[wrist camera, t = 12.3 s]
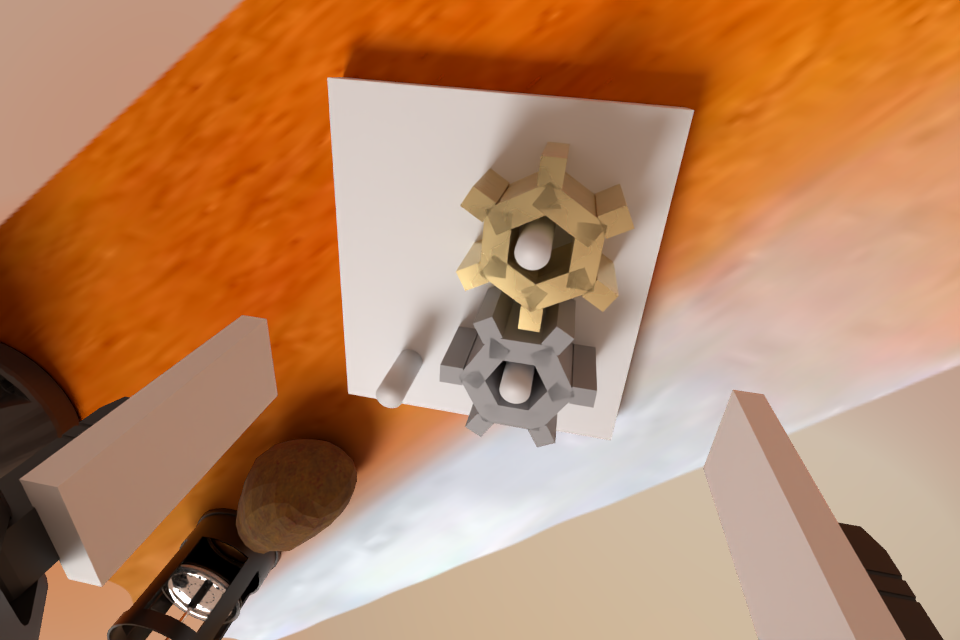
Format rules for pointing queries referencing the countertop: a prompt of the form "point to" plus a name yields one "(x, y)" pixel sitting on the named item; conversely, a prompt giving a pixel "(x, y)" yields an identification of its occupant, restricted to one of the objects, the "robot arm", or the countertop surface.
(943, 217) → the countertop surface
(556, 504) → the countertop surface
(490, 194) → the brass gear
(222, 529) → the french press
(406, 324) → the gear board
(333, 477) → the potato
